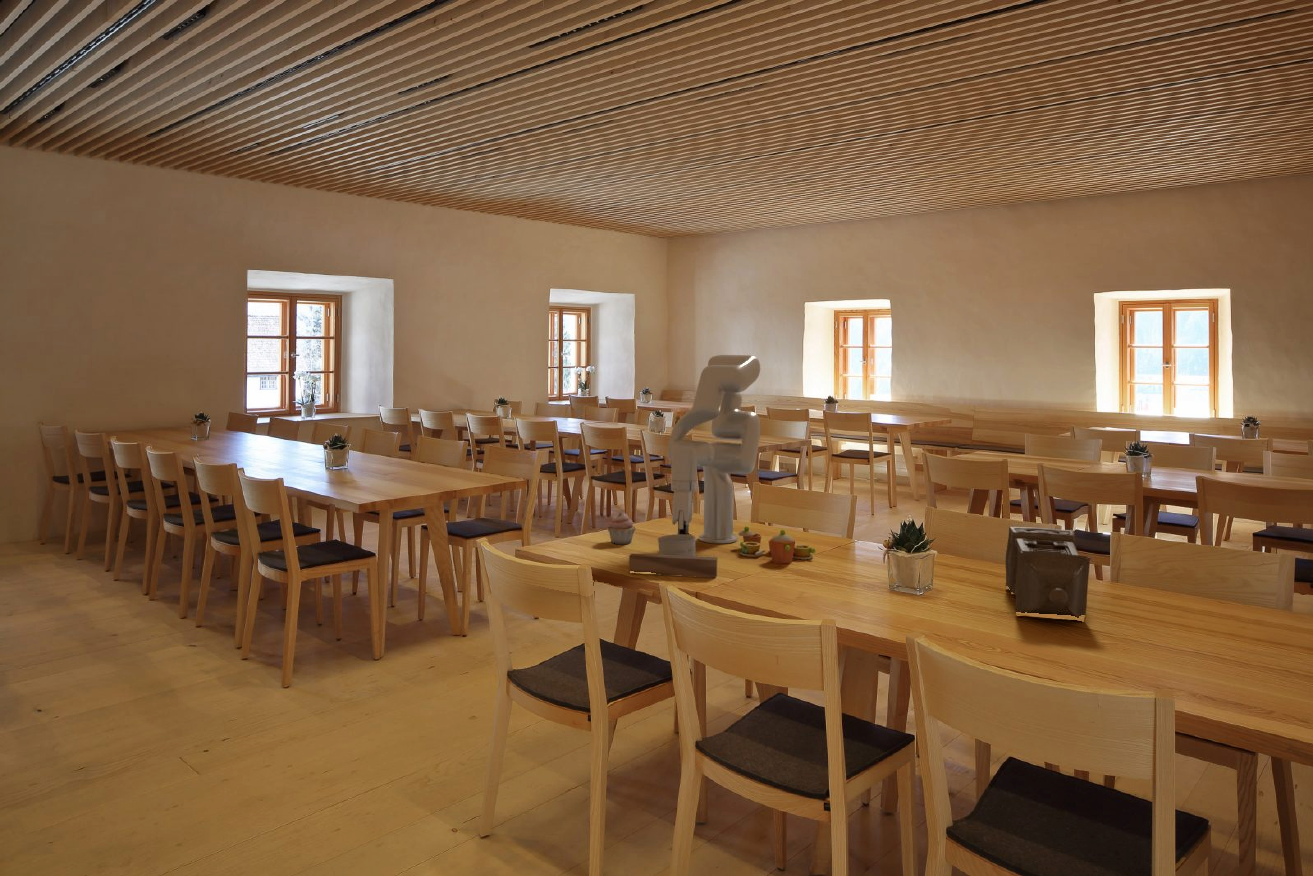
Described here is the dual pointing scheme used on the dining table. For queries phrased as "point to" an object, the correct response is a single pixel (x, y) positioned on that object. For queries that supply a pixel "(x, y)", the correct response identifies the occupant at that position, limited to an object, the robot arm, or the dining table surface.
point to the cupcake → (621, 529)
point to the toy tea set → (775, 547)
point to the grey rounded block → (677, 545)
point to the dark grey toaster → (1046, 571)
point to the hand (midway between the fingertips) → (683, 546)
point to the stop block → (674, 565)
